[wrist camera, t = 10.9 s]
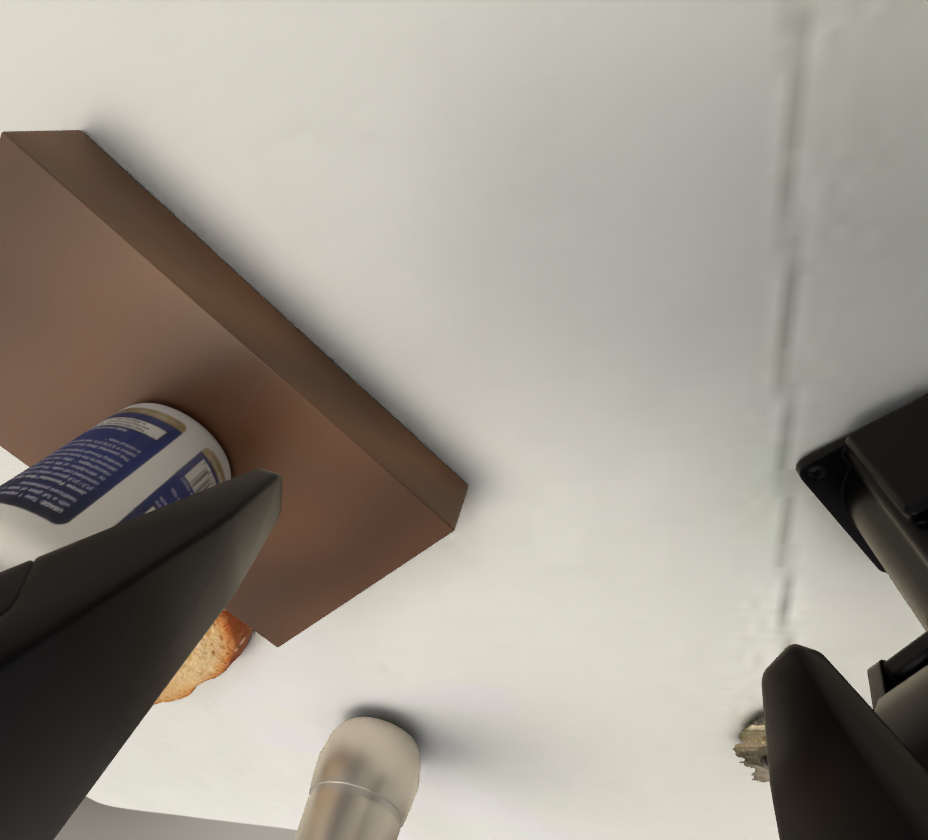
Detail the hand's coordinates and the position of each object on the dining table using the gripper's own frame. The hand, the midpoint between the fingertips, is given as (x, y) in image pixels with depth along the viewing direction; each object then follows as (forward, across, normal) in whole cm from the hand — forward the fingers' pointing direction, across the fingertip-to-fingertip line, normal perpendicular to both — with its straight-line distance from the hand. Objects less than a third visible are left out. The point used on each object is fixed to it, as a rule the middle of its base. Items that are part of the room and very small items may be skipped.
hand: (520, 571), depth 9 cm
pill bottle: (+9, +14, +9) cm, 18 cm away
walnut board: (+12, +14, +9) cm, 20 cm away
